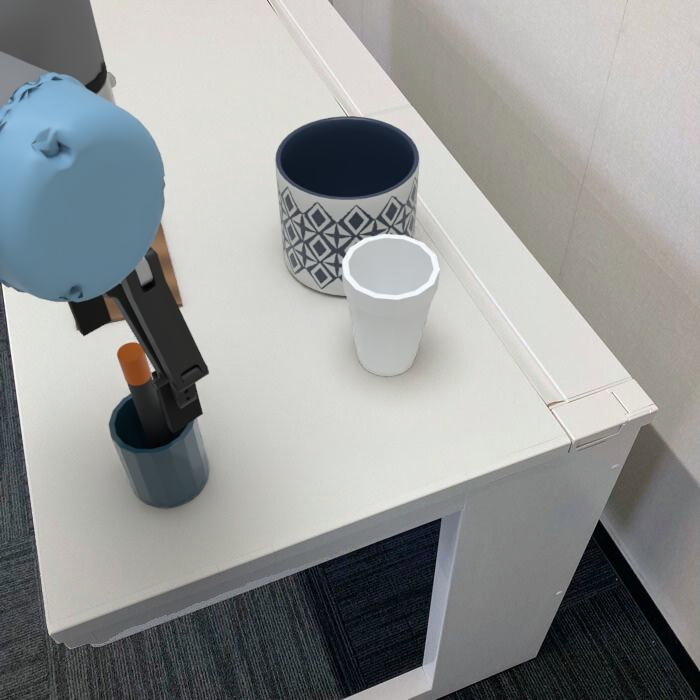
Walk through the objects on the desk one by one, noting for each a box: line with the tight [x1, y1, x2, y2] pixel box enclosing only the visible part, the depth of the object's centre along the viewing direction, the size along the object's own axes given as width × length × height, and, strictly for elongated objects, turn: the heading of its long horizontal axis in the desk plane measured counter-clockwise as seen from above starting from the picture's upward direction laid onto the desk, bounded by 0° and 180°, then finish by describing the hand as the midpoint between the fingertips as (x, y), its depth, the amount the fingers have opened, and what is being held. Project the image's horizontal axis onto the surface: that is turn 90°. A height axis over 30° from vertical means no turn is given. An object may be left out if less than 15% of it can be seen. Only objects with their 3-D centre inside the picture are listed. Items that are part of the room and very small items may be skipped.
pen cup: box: [108, 390, 210, 509], centre depth 71 cm, size 7×7×9 cm
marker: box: [116, 341, 172, 449], centre depth 67 cm, size 2×2×17 cm
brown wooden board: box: [74, 221, 184, 331], centre depth 94 cm, size 18×12×1 cm, turn 18°
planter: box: [274, 115, 420, 297], centre depth 90 cm, size 16×16×14 cm
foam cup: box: [342, 234, 441, 377], centre depth 79 cm, size 10×9×13 cm
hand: (138, 371), depth 63 cm, fingers open, 13 cm apart
